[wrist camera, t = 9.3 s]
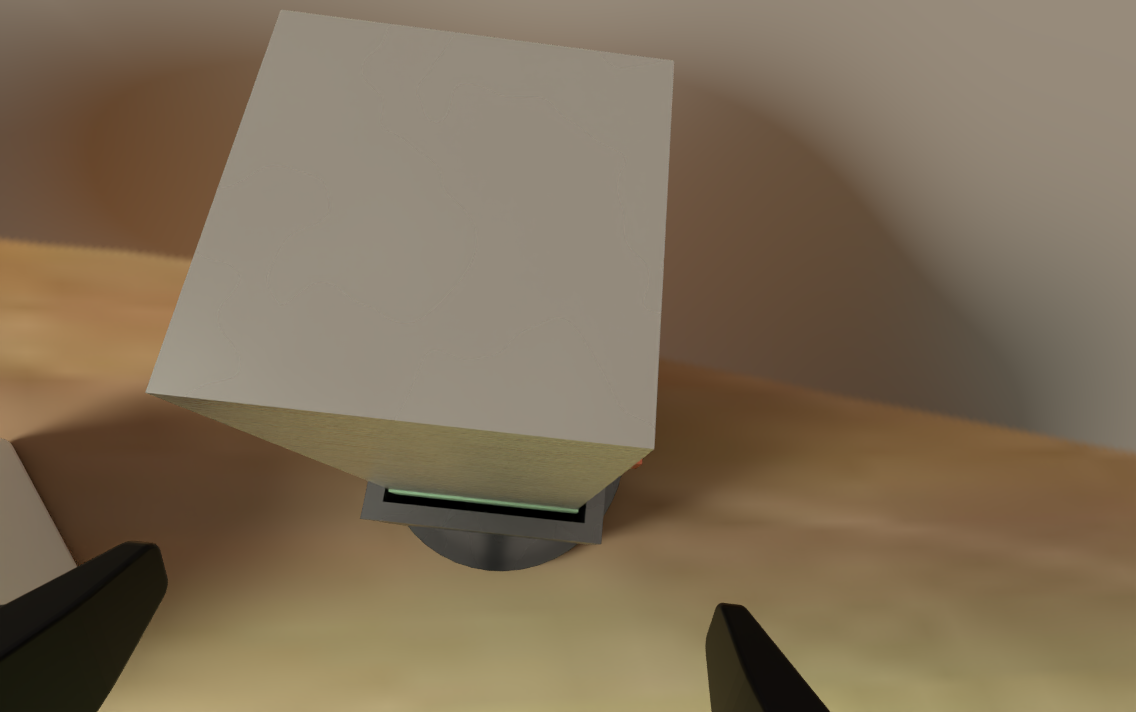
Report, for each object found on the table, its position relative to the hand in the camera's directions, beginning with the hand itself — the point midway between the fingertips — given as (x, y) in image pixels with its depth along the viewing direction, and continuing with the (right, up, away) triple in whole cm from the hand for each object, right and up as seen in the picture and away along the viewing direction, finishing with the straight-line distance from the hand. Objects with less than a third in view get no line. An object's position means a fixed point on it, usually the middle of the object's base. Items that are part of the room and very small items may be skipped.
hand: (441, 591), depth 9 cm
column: (0, +1, +9) cm, 10 cm away
